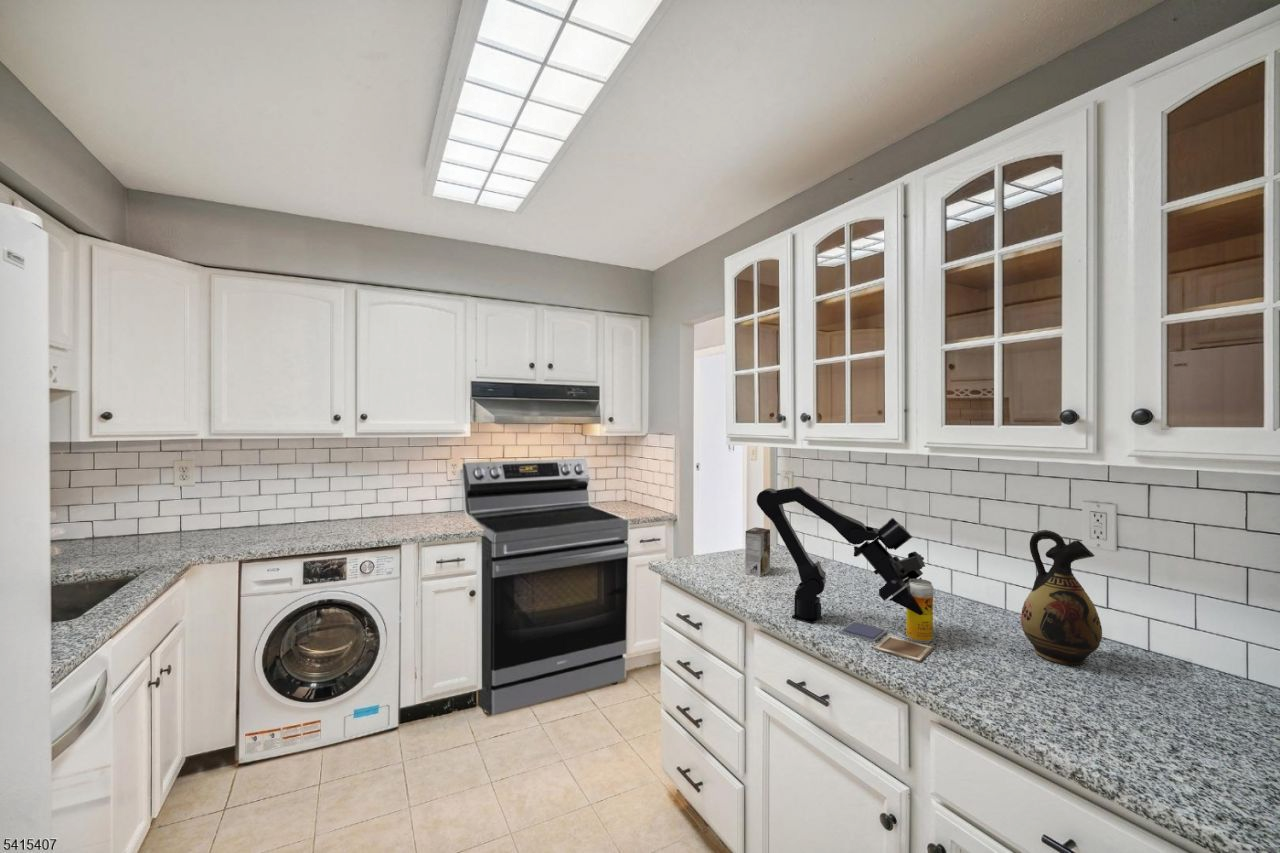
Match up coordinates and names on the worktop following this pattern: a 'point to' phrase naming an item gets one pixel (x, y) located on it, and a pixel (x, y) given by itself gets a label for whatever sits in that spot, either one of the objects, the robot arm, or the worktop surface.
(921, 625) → the beer can
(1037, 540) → the ceramic jug
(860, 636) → the ink pad
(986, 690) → the worktop surface
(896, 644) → the marked square
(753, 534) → the coffee box
